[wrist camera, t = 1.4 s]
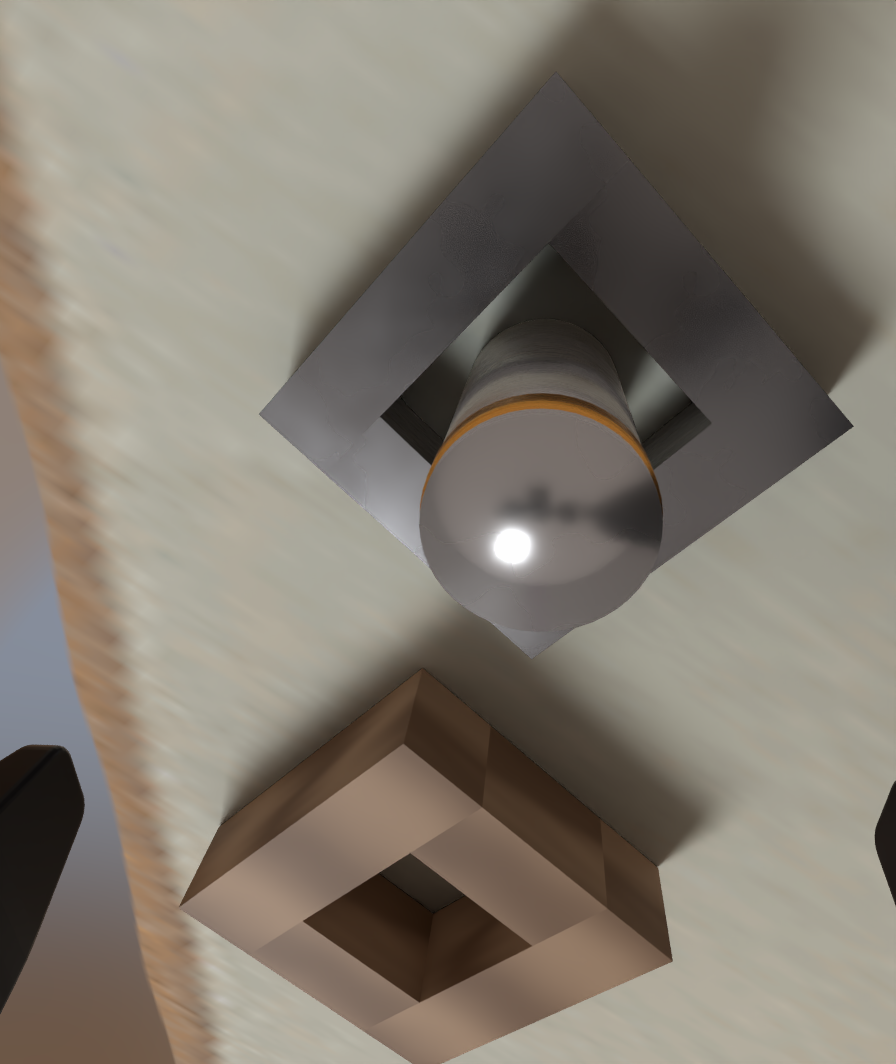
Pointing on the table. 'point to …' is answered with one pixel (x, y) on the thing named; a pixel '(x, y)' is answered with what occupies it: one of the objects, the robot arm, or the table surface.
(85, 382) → the table surface
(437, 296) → the pin mount
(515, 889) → the socket block
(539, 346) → the steel pin
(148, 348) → the table surface
